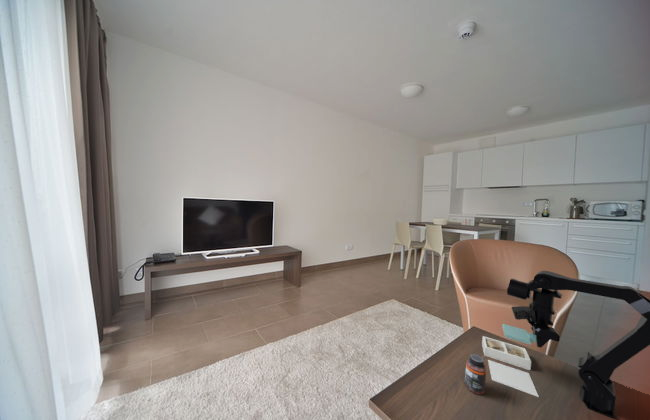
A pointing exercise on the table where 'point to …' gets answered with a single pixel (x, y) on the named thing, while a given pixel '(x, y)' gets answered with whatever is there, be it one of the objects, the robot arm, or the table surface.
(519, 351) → the cube
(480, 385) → the supplement bottle
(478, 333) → the table surface
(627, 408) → the table surface
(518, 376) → the mat
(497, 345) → the cube
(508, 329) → the lid
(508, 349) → the tub
